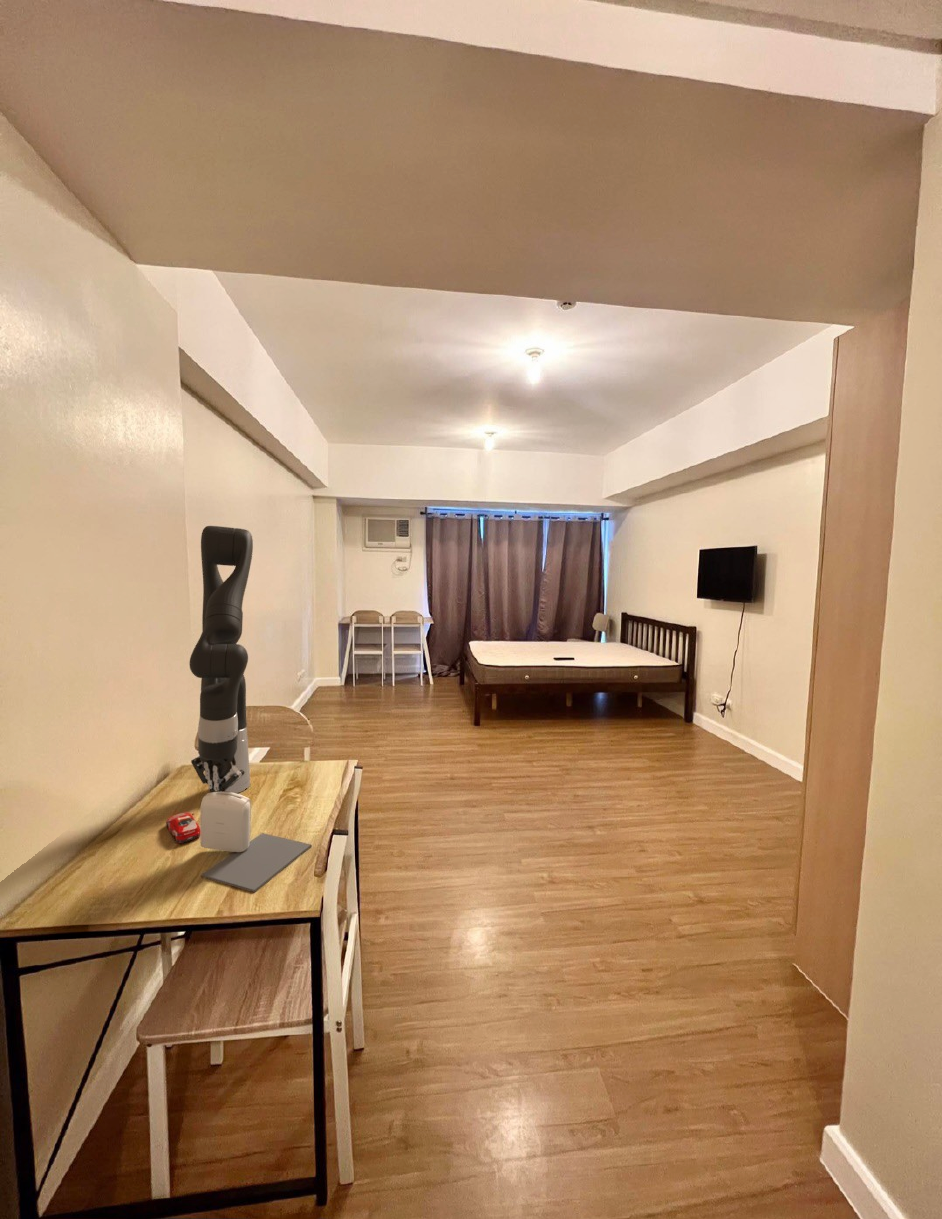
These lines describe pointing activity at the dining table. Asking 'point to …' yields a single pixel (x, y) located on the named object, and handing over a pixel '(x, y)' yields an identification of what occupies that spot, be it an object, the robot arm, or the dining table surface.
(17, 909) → the dining table surface
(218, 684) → the robot arm
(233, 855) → the gray mat
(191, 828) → the race car
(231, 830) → the photo printer
